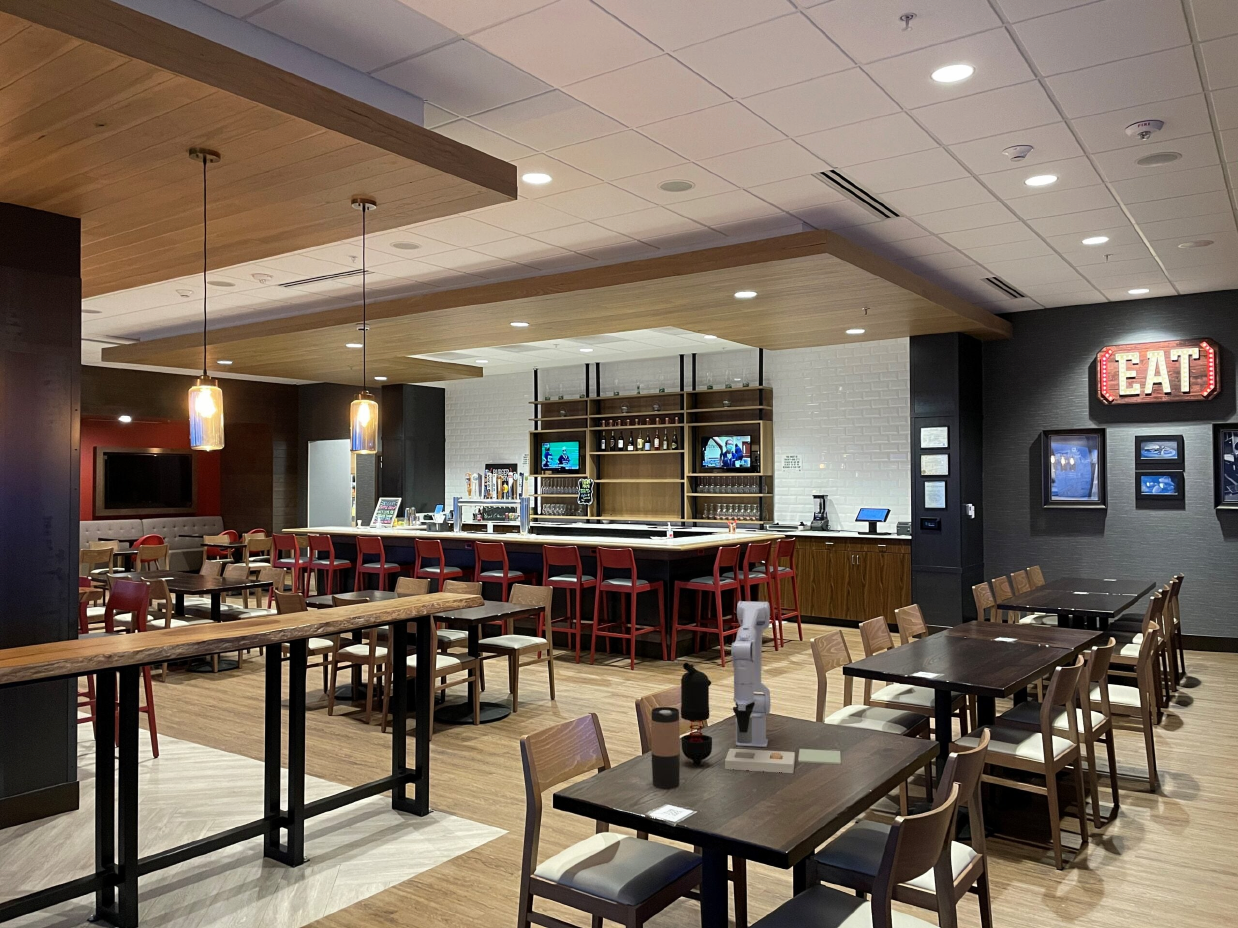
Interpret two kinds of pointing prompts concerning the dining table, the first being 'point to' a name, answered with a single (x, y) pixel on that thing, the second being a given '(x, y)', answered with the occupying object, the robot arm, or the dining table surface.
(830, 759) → the mat
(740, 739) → the cylinder
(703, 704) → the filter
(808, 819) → the dining table surface
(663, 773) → the travel mug
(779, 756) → the plunger
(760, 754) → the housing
